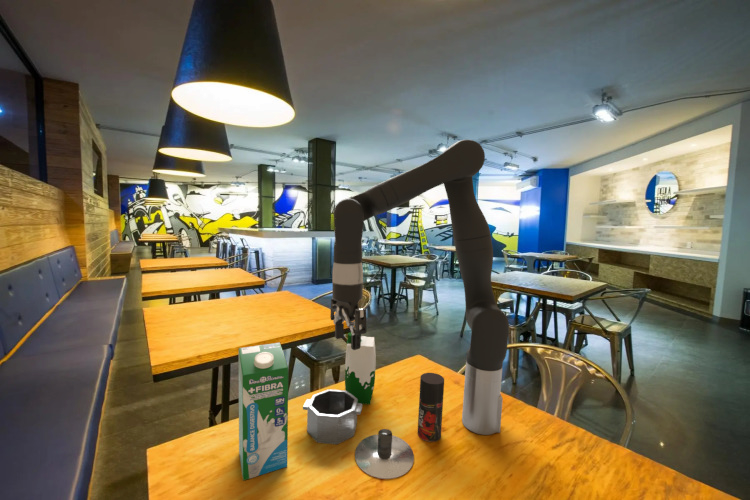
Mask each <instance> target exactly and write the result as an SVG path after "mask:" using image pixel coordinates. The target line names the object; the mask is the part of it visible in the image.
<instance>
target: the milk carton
mask: <svg viewBox="0 0 750 500" xmlns="http://www.w3.org/2000/svg"><path fill="white" fill-rule="evenodd" d="M288 426H289V366H288V363H287V360H286V356H285V353H284V351H283V347H282V345H281V342H275V343H274V342H273V343H265V344H260V345H259V344H257V345H253V346H246V347H239V348H238V453H239V461H240V469H241V475H242V481H246V480H249V479H253V478H256V477H258V476H261V475H262V476H263V475H265V474H268V473H271V472H272V473H273V472H275V471H278V470H281V469H283V468H287V467H288V446H289V445H288V442H289V441H288V435H289V434H288V432H289V431H288V429H289V427H288Z"/></svg>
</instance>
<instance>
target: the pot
mask: <svg viewBox="0 0 750 500" xmlns="http://www.w3.org/2000/svg"><path fill="white" fill-rule="evenodd" d="M357 401H358V399H357V398H356V397H355V396H353V395H352V394H351V393H349V392H348V391H345V389H343V390H341V389H331V388H329V389H328V388H327V389H326V390H322V391H320V392H317V393H315V394H312V396H311V398H307V399H306V400H305V402H304V404H303V406H302V410H305V411H307V414H306V415H307V417H306V419H307V421H306V422H307V423H306V432H307V433H308V435H310V437H311V438H312V439H314V441H315V442H316V443H320V444H329V445H339V444H341V443H343V442H345V441H347V440H349V439H351V438H353V437H354V436H355V433H356V428H357V425H358V415H359V416H360V415H361V413H362V409H363V404H362V403H357Z"/></svg>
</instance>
